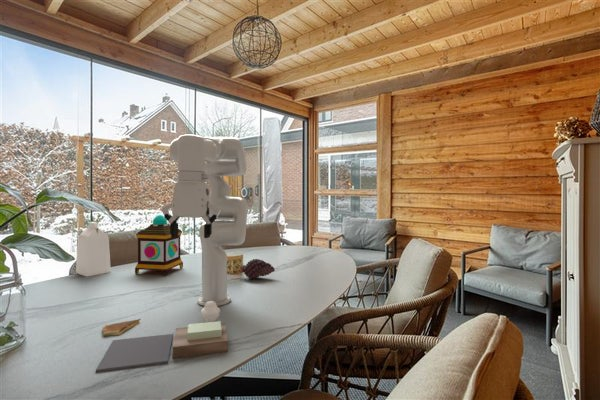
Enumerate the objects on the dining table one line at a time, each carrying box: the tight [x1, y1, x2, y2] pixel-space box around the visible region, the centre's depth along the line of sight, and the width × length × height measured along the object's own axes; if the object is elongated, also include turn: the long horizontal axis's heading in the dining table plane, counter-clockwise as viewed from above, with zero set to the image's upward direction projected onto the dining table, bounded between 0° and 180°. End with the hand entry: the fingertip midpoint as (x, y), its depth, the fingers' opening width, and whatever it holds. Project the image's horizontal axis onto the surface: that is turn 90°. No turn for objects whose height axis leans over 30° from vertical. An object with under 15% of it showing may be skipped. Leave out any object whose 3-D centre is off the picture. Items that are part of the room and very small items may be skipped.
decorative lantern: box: [134, 214, 184, 277], centre depth 174 cm, size 20×20×30 cm
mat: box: [95, 333, 174, 373], centre depth 88 cm, size 16×16×1 cm
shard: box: [102, 318, 141, 337], centre depth 102 cm, size 11×8×2 cm
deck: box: [172, 323, 229, 359], centre depth 93 cm, size 12×14×3 cm
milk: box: [75, 221, 112, 277], centre depth 170 cm, size 12×12×26 cm
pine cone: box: [239, 258, 275, 280], centre depth 162 cm, size 18×10×10 cm, turn 88°
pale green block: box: [187, 320, 222, 340], centre depth 93 cm, size 9×6×2 cm, turn 107°
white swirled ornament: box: [200, 301, 221, 323], centre depth 109 cm, size 6×6×7 cm
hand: (190, 237), depth 96 cm, fingers open, 9 cm apart
